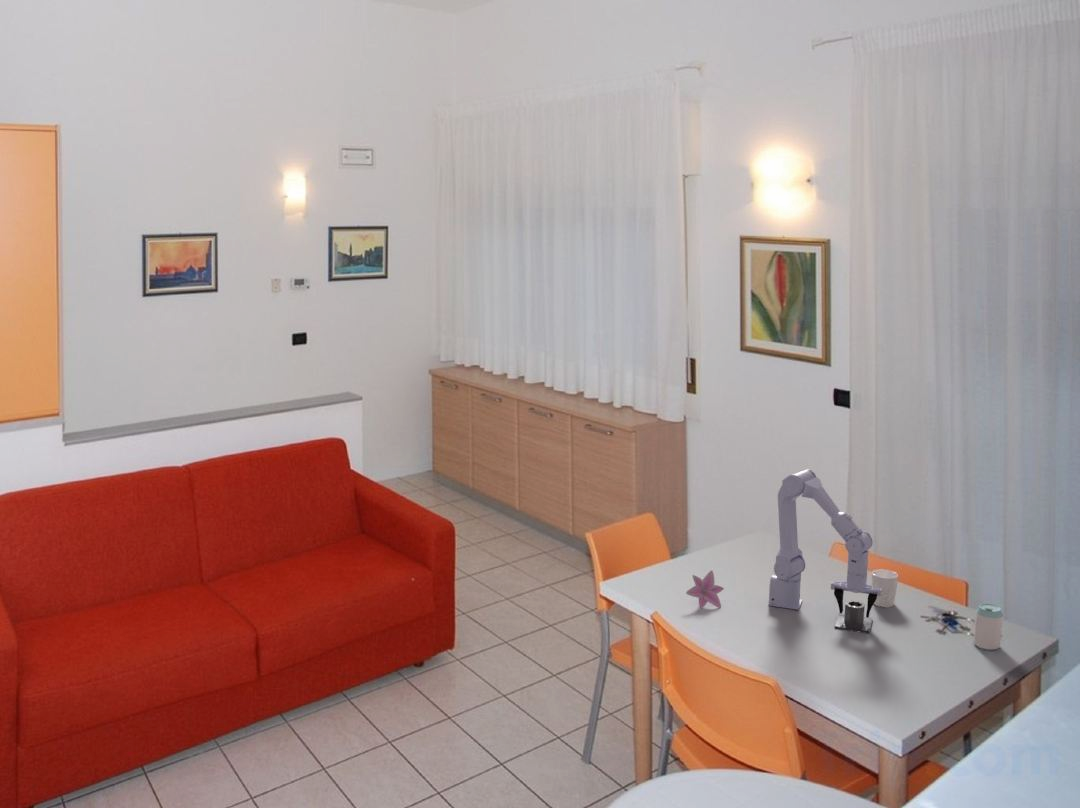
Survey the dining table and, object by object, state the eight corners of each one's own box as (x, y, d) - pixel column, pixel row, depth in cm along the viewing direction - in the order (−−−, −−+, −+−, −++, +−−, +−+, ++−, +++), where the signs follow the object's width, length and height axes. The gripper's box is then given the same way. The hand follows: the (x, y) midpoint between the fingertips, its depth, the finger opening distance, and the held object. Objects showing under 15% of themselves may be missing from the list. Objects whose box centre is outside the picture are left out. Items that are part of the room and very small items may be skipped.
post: (834, 628, 304) (835, 610, 302) (838, 615, 313) (839, 597, 311) (869, 633, 300) (870, 615, 299) (872, 620, 309) (873, 602, 308)
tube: (843, 624, 304) (844, 606, 303) (845, 617, 309) (846, 599, 308) (862, 627, 302) (863, 608, 301) (863, 620, 307) (865, 602, 306)
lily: (679, 609, 320) (688, 590, 314) (684, 583, 329) (693, 563, 323) (715, 622, 319) (725, 603, 313) (719, 595, 328) (729, 576, 322)
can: (1004, 651, 288) (1008, 611, 286) (980, 652, 288) (984, 612, 285) (991, 640, 295) (995, 601, 293) (968, 641, 295) (972, 602, 292)
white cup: (897, 609, 317) (899, 579, 315) (871, 607, 319) (873, 577, 317) (894, 599, 325) (896, 570, 323) (868, 597, 326) (870, 568, 324)
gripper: (830, 573, 302) (828, 615, 305) (881, 580, 296) (878, 623, 299) (833, 565, 308) (830, 606, 311) (883, 571, 303) (880, 614, 306)
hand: (854, 614), depth 306 cm, fingers open, 7 cm apart
